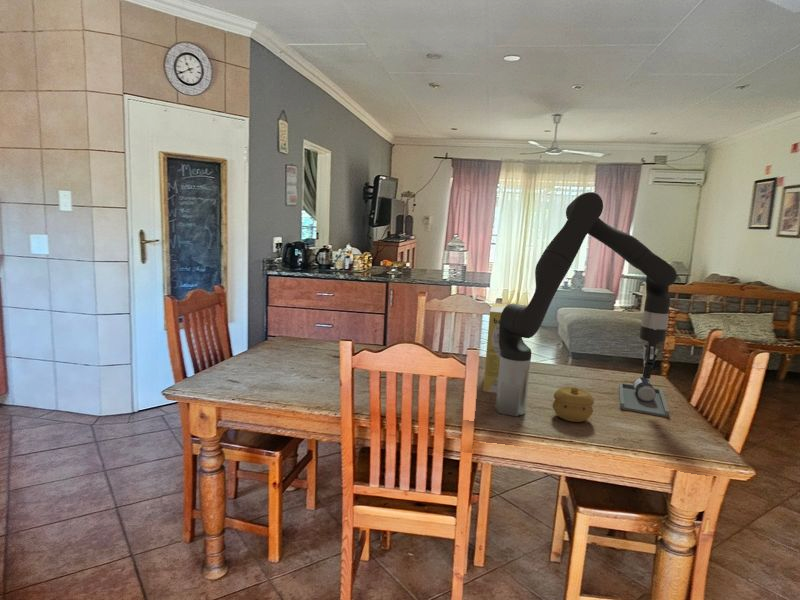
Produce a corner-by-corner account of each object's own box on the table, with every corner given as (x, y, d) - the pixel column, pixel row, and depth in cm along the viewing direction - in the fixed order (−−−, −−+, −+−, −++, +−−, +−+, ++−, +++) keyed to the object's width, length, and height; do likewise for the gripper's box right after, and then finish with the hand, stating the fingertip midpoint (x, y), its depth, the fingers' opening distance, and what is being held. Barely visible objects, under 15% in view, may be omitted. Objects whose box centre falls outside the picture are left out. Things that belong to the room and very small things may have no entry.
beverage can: (652, 384, 168) (646, 374, 179) (635, 389, 170) (630, 378, 181) (659, 399, 168) (652, 388, 179) (641, 404, 170) (636, 393, 181)
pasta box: (486, 375, 192) (492, 303, 187) (514, 379, 189) (521, 305, 185) (483, 391, 174) (489, 311, 169) (514, 395, 172) (522, 314, 167)
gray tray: (668, 417, 159) (669, 411, 159) (619, 408, 164) (620, 403, 164) (660, 394, 181) (661, 389, 181) (618, 387, 186) (619, 382, 186)
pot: (598, 419, 154) (602, 388, 153) (581, 430, 146) (585, 397, 144) (561, 408, 162) (565, 378, 160) (544, 417, 154) (547, 386, 152)
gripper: (639, 320, 169) (632, 370, 172) (642, 327, 157) (634, 381, 159) (664, 323, 166) (657, 374, 169) (669, 331, 154) (661, 385, 157)
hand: (646, 377), depth 164 cm, fingers closed
